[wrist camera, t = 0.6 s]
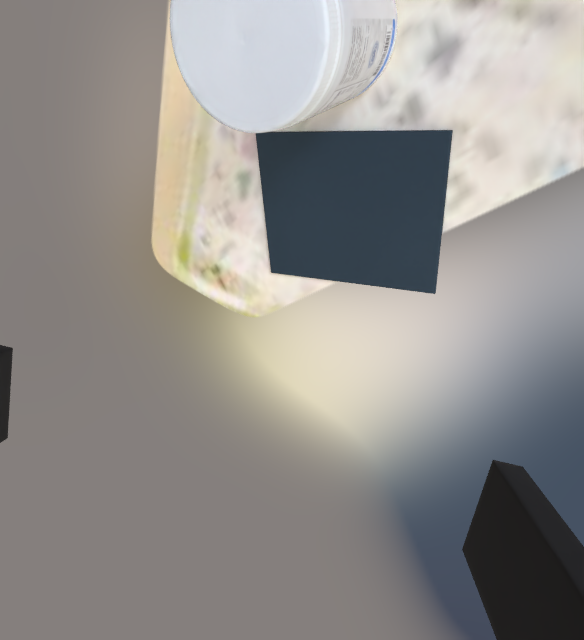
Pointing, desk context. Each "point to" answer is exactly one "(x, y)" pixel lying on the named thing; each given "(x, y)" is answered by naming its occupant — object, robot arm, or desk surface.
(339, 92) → the supplement tub
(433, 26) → the desk surface
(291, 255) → the mat
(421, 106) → the desk surface
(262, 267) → the desk surface
